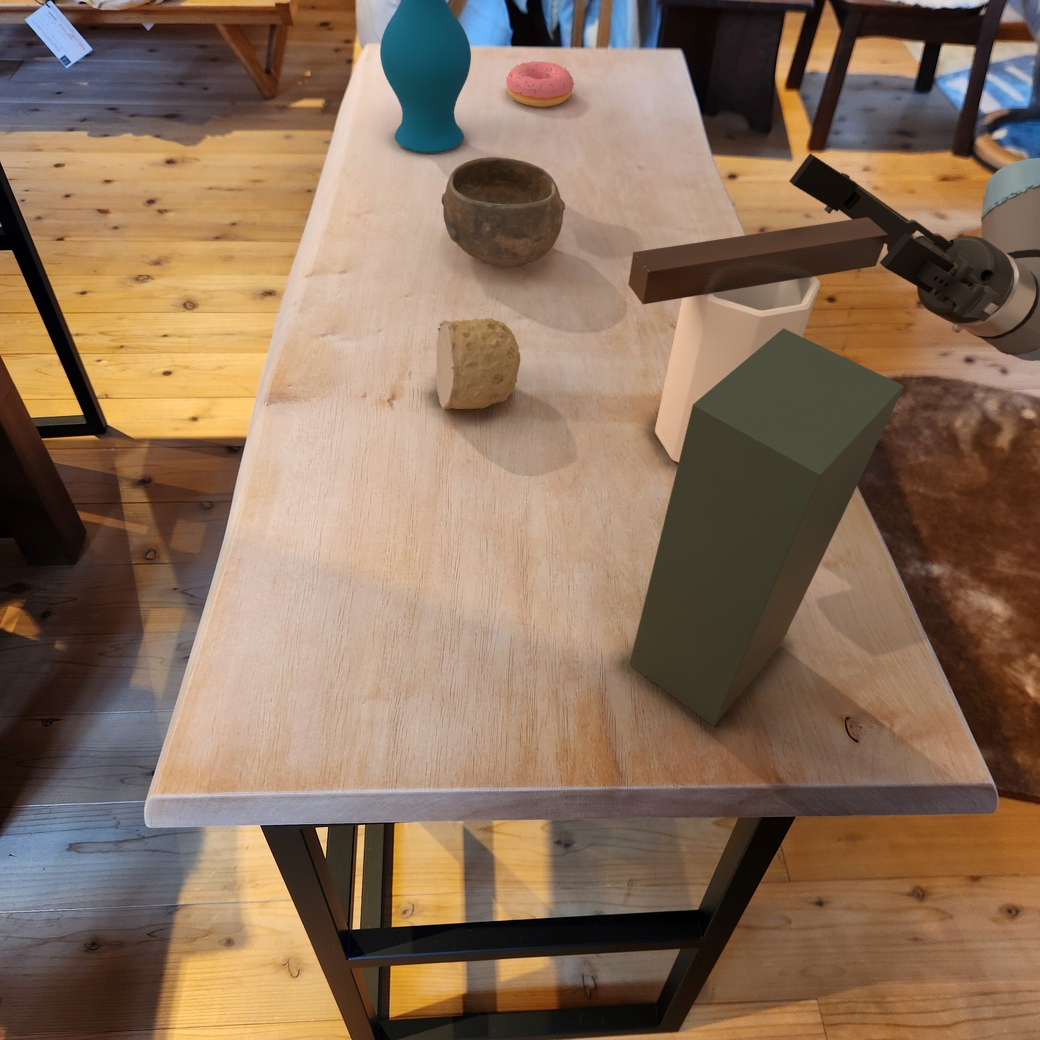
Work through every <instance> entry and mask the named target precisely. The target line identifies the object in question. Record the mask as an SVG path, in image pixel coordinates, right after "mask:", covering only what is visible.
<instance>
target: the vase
mask: <svg viewBox="0 0 1040 1040" xmlns="http://www.w3.org/2000/svg"><path fill="white" fill-rule="evenodd" d="M379 52H380V53H379V56H380V62H381V63H380V64H381V67H382V70H383V74H384V76H385V78H386V80H387V82H388V84H389V86H390V87H391V89H392V91H393V93H394V94H395V97H396V98H397V100H398V103H399V105H400V108H401V123H400V124H399V126H398V127H397V129H396V131H395V132H394V139H395V141H396V142H397V143H398V144H399V145H400V146H402V147H403V148H404V149H407V150H410V151H412V152H417V153H427V154H429V153H433V154H434V153H442V152H446V151H450V150H453V149H455V148H456V147H458V146H459V145H461V143H462V142H463V140H464V139H465V134H464V132H463V130H462V129H461V127H460V125H458V124H457V121H456V117H455V109H456V104H457V102H458V98H459V96H460V94H461V93H462V90H463V88H464V86H465V84H466V82H467V80H468V77H469V73H470V69H471V61H472V50H471V45H470V41H469V38H468V35H467V33H466V30H465V29H464V27H463V25H462V24H461V22H460V21H459V19H458V18H457V16H456V15H455V14H454V12H453V10H452V9H451V8H450V5H449V4H448V2H447V1H446V0H400V2H399V4H398V6H397V8H396V10H395V12H394V13H393V15H392V16H391V18H390V20H389V21H388V23H387V25H386V27H385V29H384V31H383V33H382V37H381V41H380V48H379Z"/></svg>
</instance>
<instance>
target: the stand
mask: <svg viewBox="0 0 1040 1040" xmlns="http://www.w3.org/2000/svg"><path fill="white" fill-rule="evenodd" d="M904 388H905V385H904V384H902V383H900V382H897V381H896V380H894V379H891V378H889V377H887V376H885V375H883V374H880V373H878V372H876V371H874V370H872V369H870V368H867V367H865V366H863V365H862V364H860V363H858V362H855V361H853V360H851V359H849V358H847V357H844V356H842V355H841V354H839V353H836V352H834V351H832V350H830V349H828V348H826V347H825V346H822V345H819V344H818V343H816V342H814V341H811V340H810V339H807V338H805V337H804V336H803V337H801V336H799V335H797V334H795V333H792V332H790V331H788V330H786V329H784V328H783V329H782V330H781V331H779V332H778V333H777V334H776V335H775V336H773V337H772V338H771V339H770V340H769V341H768V342H766V343H765V344H764V345H763V346H762V347H760V348H759V349H758V350H757V351H756V352H755V353H753V354H752V355H751V356H750V357H749V358H747V359H746V360H745V361H744V362H743V363H741V364H740V365H739V366H738V367H737V368H736V369H734V370H733V371H732V372H731V373H730V374H728V375H727V376H726V377H725V378H724V379H722V380H721V381H720V382H719V383H718V384H717V385H715V386H714V387H713V388H712V389H711V390H709V391H708V392H707V393H706V394H705V395H703V396H702V397H701V398H700V399H699V400H698V401H696V402H695V403H694V404H693V406H692V410H691V414H690V418H689V422H688V426H687V430H686V435H685V439H684V443H683V447H682V451H681V455H680V459H679V462H677V463H678V464H677V467H676V472H675V475H674V480H673V483H672V488H671V491H670V492H671V493H670V497H669V500H668V505H667V507H666V513H665V517H664V521H663V526H662V529H661V534H660V538H659V541H658V546H657V549H656V554H655V557H654V558H655V559H654V562H653V566H652V571H651V575H650V577H649V582H648V587H647V590H646V595H645V599H644V603H643V607H642V610H641V614H640V619H639V623H638V628H637V631H636V636H635V639H634V643H633V648H632V652H631V655H630V659H629V660H630V661H629V664H628V665H629V666H630V667H632V668H633V669H634V670H636V671H637V672H638V673H640V674H641V675H642V676H644V677H645V678H647V679H648V680H649V681H651V682H652V683H654V685H657V686H658V687H659V688H660V689H662V690H663V691H664V692H666V693H667V694H669V695H670V696H671V697H672V698H674V699H675V700H677V701H678V702H679V703H681V704H682V705H683V706H685V707H686V708H687V709H689V710H690V711H692V712H693V713H694V714H696V715H697V716H698V717H700V718H701V719H702V720H704V721H705V722H707V723H708V724H710V725H711V726H712V727H715V726H716V725H717V724H718V723H719V722H720V720H721V719H722V717H724V715H725V714H726V713H727V712H728V710H729V709H730V708H731V707H732V706H733V704H734V703H735V702H736V701H737V700H738V698H739V697H740V696H741V695H742V694H743V692H744V691H745V690H746V688H747V687H748V686H749V685H750V684H751V682H752V681H753V680H754V679H755V677H756V676H757V675H758V674H759V673H760V671H761V670H762V669H763V668H764V667H765V666H766V664H767V663H768V662H769V661H770V659H771V658H772V656H773V655H774V654H775V653H776V652H777V651H778V649H780V647H781V646H782V644H783V642H784V640H785V637H786V635H787V633H788V631H789V629H790V627H791V625H792V624H793V621H794V619H795V617H796V615H797V612H798V610H799V608H800V607H801V604H802V602H803V600H804V598H805V596H806V594H807V592H808V589H809V588H810V585H811V583H812V581H813V579H814V577H815V575H816V572H817V570H818V569H819V566H820V564H821V562H822V560H823V558H824V557H825V554H826V552H827V550H828V548H829V546H830V543H831V542H832V539H833V538H834V535H835V532H837V528H838V526H839V524H840V523H841V520H842V518H843V516H844V514H845V512H846V511H847V508H848V505H849V504H850V502H851V500H852V497H853V495H854V493H855V491H856V489H857V487H858V485H859V482H860V480H861V479H862V477H863V474H864V472H865V470H866V468H867V466H868V464H869V462H870V459H871V457H872V456H873V453H874V452H875V450H876V447H877V445H878V443H879V441H880V440H881V439H880V438H881V437H882V435H883V433H884V430H885V428H886V426H887V424H888V422H889V421H890V420H889V419H890V418H891V416H892V413H893V411H894V410H895V407H896V405H897V403H898V401H899V399H900V396H901V394H902V392H903V391H904Z"/></svg>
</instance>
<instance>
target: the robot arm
mask: <svg viewBox="0 0 1040 1040" xmlns="http://www.w3.org/2000/svg"><path fill="white" fill-rule="evenodd" d="M788 182H789V183H790V184H791V185H792V186H794V187H796V188H797V189H798V190H801V191H802V192H804V193H806V194H807V195H808V196H810V197H812V198H813V199H815V200H817V201H818V202H820V203H821V204H823V205H825V208H823V210H824V211H825V212H826V213H827V214H829V215H830V214H831V213H832V211H835V212H837V213H838V212H839V211H840V212H841V213H843V214H844V215H846V216H847V217H848V218H849V219H850V220H852V219H859V218H866V217H868V218H869V219H871V220H872V221H873V222H874V223H875V224H876V225H878V226H879V227H880V228H881V229H882V230H883V231H884V232H886V233H887V234H888V236H887V239H886V241H885V244H884V245H886V251H887V253H886V254H885V256H884V257H883V258H882V259H881V260H880V261H879V264H880V265H881V266H882V267H883V268H885V269H886V270H888V271H889V272H891V273H893V274H895V275H897V276H898V277H900V278H902V279H903V280H905V281H907V282H909V283H911V284H913V285H914V286H916V291H917V297H918V300H919V302H920V303H921V305H922V306H923V307H924V308H925V309H926V310H927V311H929V312H930V313H931V314H934V315H935V316H937V317H939V318H941V319H943V320H945V321H946V322H949V323H951V324H953V325H952V326H951V330H952V331H953V332H955V333H956V334H958V333H960V332H961V331H963V330H965V331H966V332H968V333H969V334H970V335H973V336H974V337H976V338H979V339H980V340H983V341H984V342H985V343H987V344H989V345H990V346H992V347H993V348H995V349H996V350H997V351H998V352H1000V353H1002V354H1005V355H1006V356H1012V357H1014V358H1017V359H1019V360H1023V361H1027V362H1036V361H1038V362H1040V157H1035V158H1027V159H1022V160H1018V161H1014V162H1011V163H1009V164H1007V165H1005V166H1003V167H1001V168H999V169H998V170H996V171H995V173H994V174H993V175H991V177H990V178H988V180H987V182H986V184H985V187H984V192H983V193H984V194H983V198H982V207H981V208H982V209H981V216H980V222H981V237H979V236H975V235H964V236H958V237H955V238H952V239H950V240H948V239H947V238H946V237H944V236H943V235H941V234H940V233H936V232H935V233H934V232H932V231H931V230H929V229H928V228H926V227H925V226H924V225H923V224H921V223H920V222H919V221H917V220H916V219H908V218H907V217H905V216H904V215H902V214H901V213H899V212H898V211H896V210H895V209H893V207H891V206H889V205H888V204H887V203H886V202H885V201H883V200H881V199H880V198H879V197H877V196H875V195H874V194H873V193H871V192H870V191H869V190H867V189H866V188H864V187H863V186H862V185H860V184H859V183H857V182H856V181H855V180H853V179H852V178H851V177H850V175H849V174H847V173H844V172H840V171H838V170H837V169H835V168H834V167H832V166H831V165H829V164H827V163H826V162H824V161H823V160H821V158H820V159H819V158H818V157H817V156H815V155H814V154H812V153H809V154H808V155H807V156H806V158H805V159H804V161H802V163H801V165H800V166H799V167H798V168H797V170H796V171H795V173H794V174H793V175H792V177H791V178H790V179H789V181H788ZM917 231H918V232H919V233H920V234H922V235H917V236H916V235H915V234H916V232H917Z"/></svg>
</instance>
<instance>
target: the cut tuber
mask: <svg viewBox="0 0 1040 1040" xmlns="http://www.w3.org/2000/svg"><path fill="white" fill-rule="evenodd" d="M437 331H438V334H437V335H438V336H437V342H436V377H437V379H436V380H437V381H436V383H437V384H436V397H437V398H438V402H439V404H440V406H441V408H442V410H449V409H456V410H457V409H459V410H460V409H461V410H463V409H465V410H466V409H467V410H470V409H472V410H475V409H481V410H482V409H485V408H488V407H490V406H491V405H495V404H496V403H498V404H499V403H502V402H504V401H506V400H507V399H508V397H509V396H510V394H511V393H512V392H513V391H514V389H515V386H516V384H517V382H518V373H519V370H520V364H521V352H520V346H519V345H518V342H517V339H516V336H515V335H514V333H513V331H512V330H511V328H509V326H507V324H506V323H505V322H502V321H499V320H495V319H494V318H492V317H488V318H477V317H475V318H473V319H469V320H468V319H462V320H452V321H447V320H442V321H441V322H439V327H438V328H437Z"/></svg>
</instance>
